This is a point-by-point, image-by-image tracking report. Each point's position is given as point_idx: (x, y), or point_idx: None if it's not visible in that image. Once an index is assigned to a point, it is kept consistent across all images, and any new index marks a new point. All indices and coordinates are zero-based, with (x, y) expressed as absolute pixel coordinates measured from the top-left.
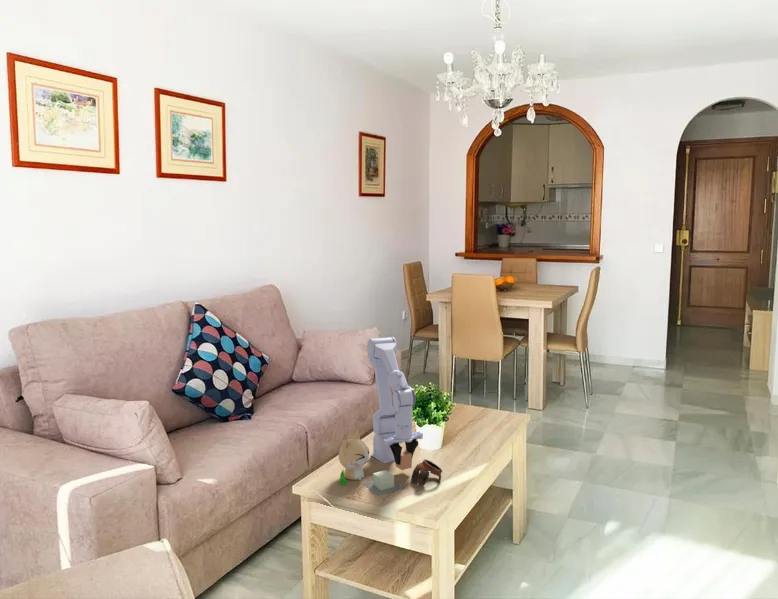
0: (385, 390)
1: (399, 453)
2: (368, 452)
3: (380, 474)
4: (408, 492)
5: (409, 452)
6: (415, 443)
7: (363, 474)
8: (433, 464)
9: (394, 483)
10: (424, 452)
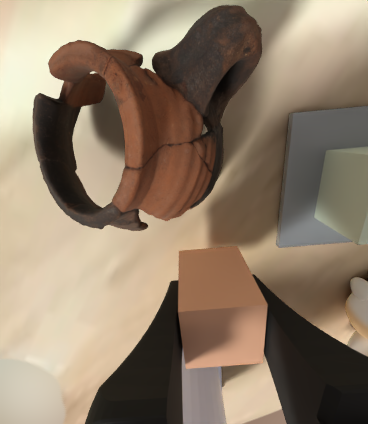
0: None
1: (297, 328)
2: None
3: None
4: (294, 71)
5: (182, 331)
6: (134, 414)
7: (365, 289)
8: (63, 191)
9: (299, 183)
10: (54, 358)
